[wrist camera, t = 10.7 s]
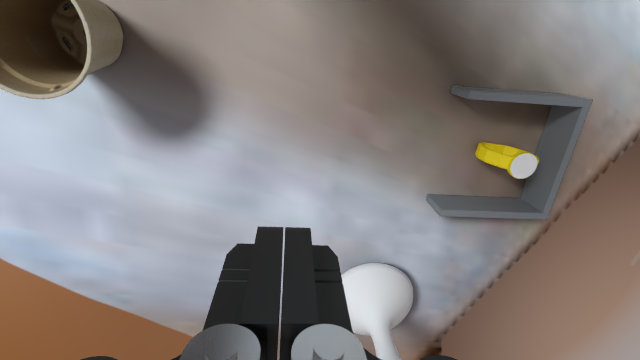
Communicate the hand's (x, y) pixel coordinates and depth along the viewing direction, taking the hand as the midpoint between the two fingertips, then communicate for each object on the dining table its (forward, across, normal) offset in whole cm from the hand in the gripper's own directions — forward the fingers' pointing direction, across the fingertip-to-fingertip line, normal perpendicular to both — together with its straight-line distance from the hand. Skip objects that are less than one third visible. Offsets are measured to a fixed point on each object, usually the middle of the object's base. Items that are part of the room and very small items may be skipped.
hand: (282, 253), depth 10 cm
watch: (+27, -24, +4) cm, 36 cm away
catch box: (+27, -23, +4) cm, 36 cm away
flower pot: (+27, +19, -5) cm, 34 cm away
